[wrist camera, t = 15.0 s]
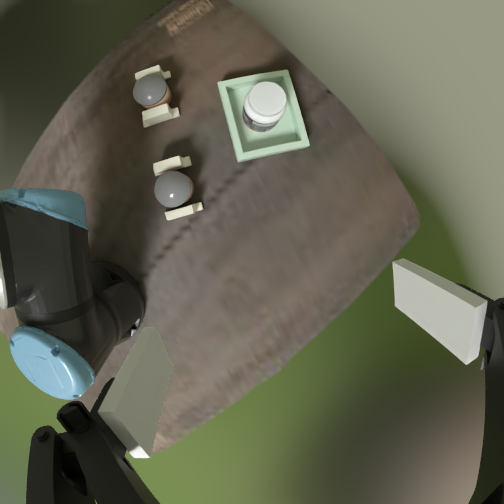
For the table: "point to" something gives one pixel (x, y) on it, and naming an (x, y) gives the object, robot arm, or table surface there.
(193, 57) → the table surface
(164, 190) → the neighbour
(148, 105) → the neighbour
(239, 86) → the tray
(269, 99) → the pill bottle
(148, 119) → the cream flat pieces
